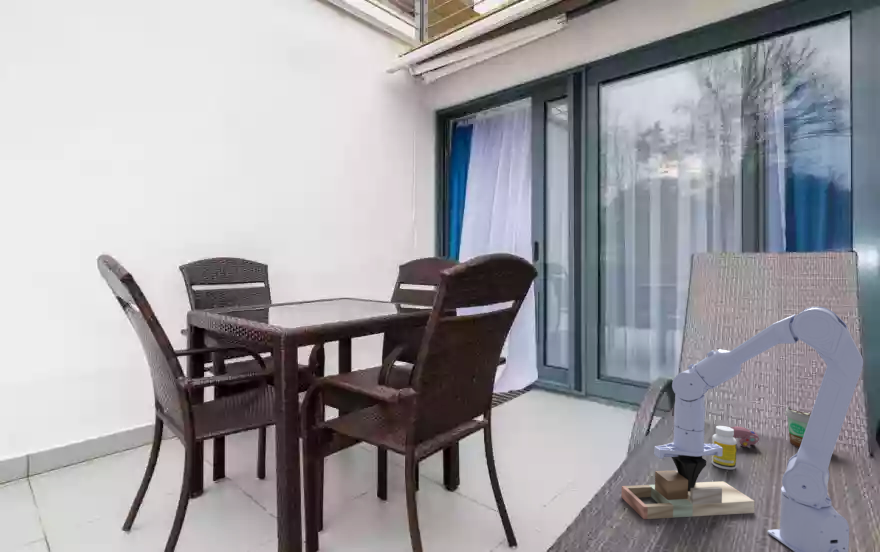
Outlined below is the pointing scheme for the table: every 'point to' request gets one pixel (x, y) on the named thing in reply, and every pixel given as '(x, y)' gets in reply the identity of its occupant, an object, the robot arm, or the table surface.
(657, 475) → the walnut block
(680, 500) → the board
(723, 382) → the robot arm
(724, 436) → the supplement bottle
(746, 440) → the video game controller
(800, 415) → the food container
